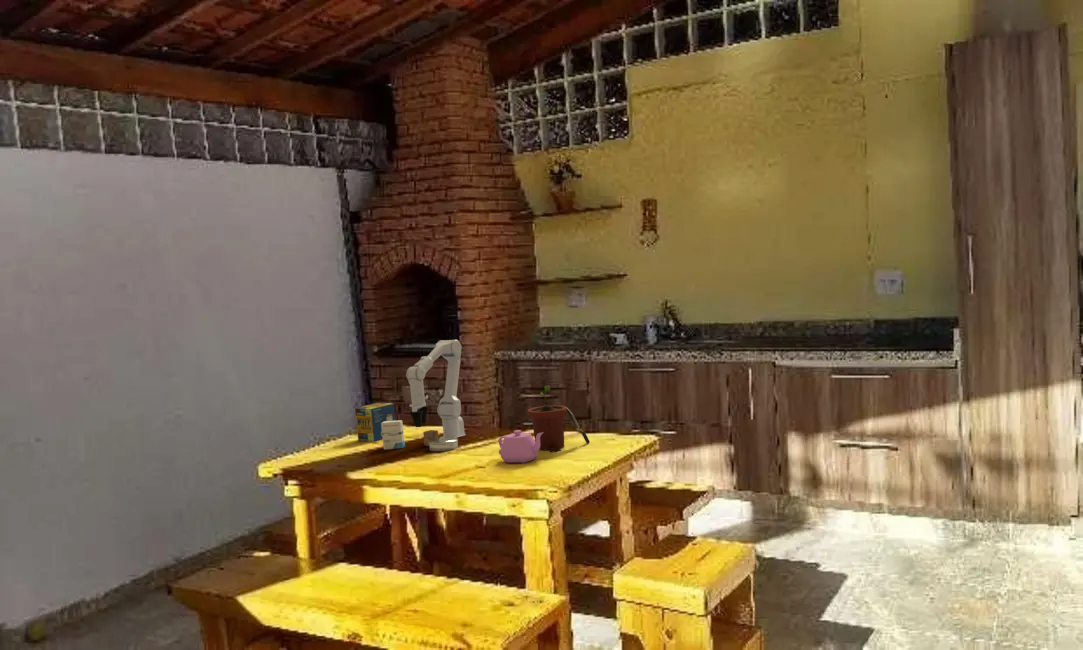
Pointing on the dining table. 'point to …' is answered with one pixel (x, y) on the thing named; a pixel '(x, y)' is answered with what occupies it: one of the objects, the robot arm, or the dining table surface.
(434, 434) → the walnut block
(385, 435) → the ink box
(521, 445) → the teapot
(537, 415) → the potted plant
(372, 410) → the protein box
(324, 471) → the dining table surface
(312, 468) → the dining table surface
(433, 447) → the biscuit tin
